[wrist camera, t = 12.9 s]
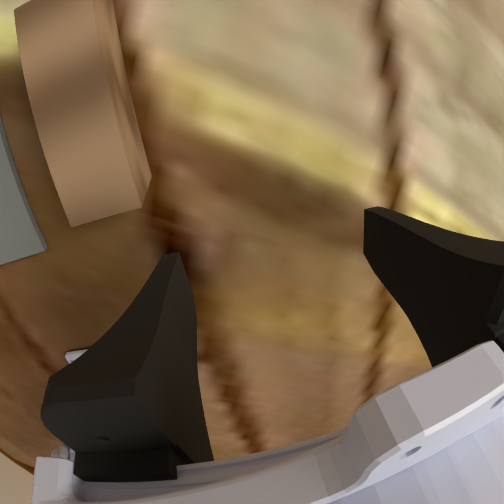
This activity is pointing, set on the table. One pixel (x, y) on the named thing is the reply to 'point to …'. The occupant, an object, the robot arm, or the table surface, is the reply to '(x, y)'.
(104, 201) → the brown wooden block
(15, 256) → the slate mat
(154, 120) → the table surface
